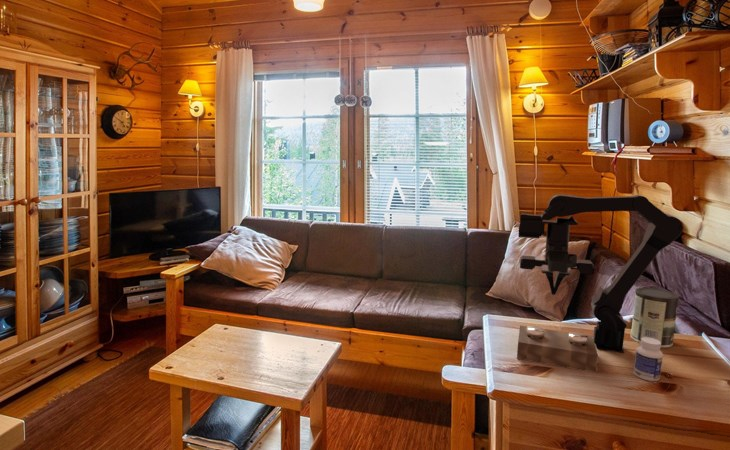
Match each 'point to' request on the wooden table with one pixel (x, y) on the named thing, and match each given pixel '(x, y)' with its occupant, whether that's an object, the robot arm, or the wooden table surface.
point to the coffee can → (654, 315)
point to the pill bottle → (648, 359)
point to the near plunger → (577, 338)
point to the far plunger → (535, 332)
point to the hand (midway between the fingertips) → (553, 294)
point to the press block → (557, 350)
